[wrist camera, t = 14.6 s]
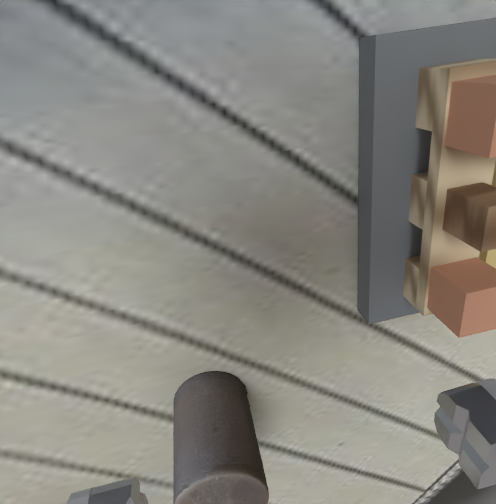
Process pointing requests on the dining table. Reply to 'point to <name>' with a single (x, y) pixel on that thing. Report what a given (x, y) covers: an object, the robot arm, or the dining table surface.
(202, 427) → the pillar candle
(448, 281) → the block
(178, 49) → the dining table surface
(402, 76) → the dock
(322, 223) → the dining table surface
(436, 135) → the pallet
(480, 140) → the block
